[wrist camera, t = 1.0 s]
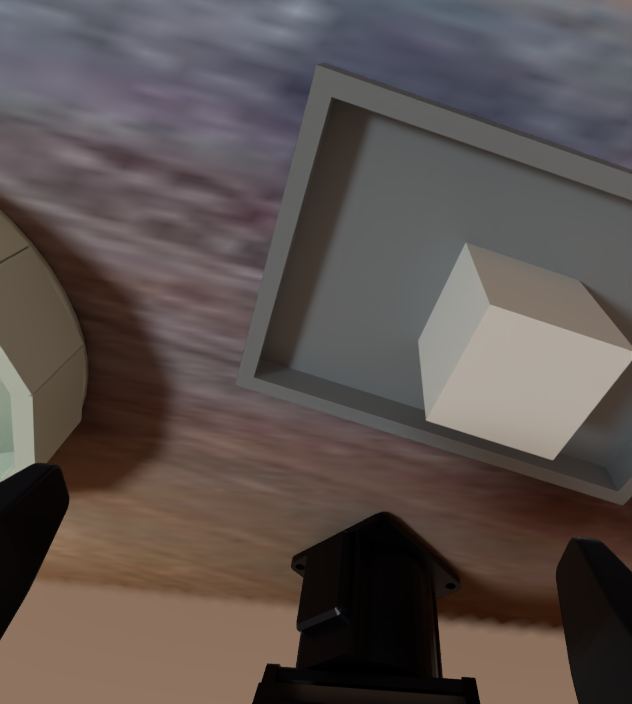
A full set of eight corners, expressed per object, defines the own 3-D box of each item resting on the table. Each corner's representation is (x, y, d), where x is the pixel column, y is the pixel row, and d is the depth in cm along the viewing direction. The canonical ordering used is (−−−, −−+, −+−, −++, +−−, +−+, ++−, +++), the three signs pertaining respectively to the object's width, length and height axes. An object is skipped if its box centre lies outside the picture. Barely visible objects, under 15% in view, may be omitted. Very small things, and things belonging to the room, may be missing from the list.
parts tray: (820, 235, 15) (865, 255, 14) (606, 474, 21) (622, 505, 20) (323, 63, 14) (316, 64, 13) (246, 360, 20) (235, 384, 19)
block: (578, 280, 16) (637, 353, 13) (518, 373, 19) (552, 460, 15) (465, 242, 16) (489, 304, 12) (417, 341, 18) (426, 420, 14)
